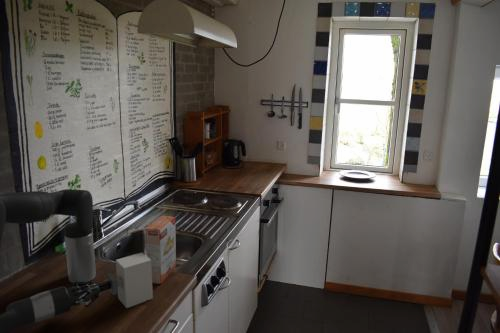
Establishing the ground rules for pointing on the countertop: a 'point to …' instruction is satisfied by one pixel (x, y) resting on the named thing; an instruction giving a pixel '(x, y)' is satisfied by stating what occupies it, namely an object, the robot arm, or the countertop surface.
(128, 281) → the key block
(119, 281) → the block
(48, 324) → the countertop surface
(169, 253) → the cracker box
